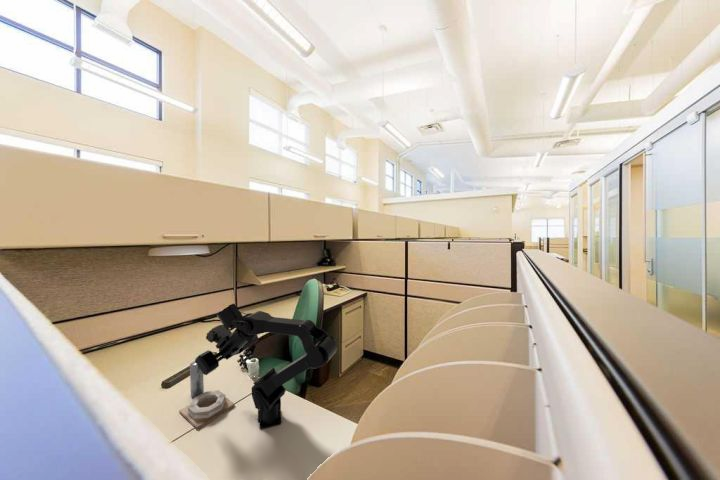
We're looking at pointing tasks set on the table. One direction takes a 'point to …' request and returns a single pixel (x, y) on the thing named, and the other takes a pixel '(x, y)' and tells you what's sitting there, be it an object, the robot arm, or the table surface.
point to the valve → (250, 364)
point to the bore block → (206, 408)
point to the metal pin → (196, 380)
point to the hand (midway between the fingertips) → (212, 364)
